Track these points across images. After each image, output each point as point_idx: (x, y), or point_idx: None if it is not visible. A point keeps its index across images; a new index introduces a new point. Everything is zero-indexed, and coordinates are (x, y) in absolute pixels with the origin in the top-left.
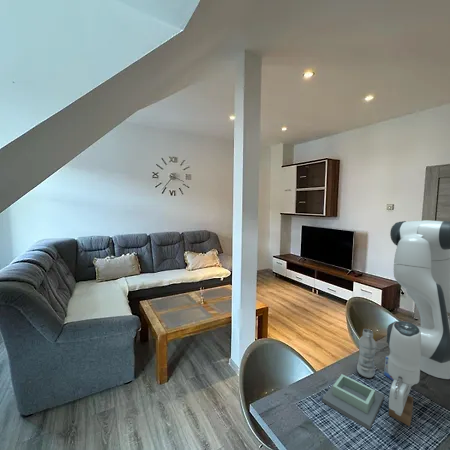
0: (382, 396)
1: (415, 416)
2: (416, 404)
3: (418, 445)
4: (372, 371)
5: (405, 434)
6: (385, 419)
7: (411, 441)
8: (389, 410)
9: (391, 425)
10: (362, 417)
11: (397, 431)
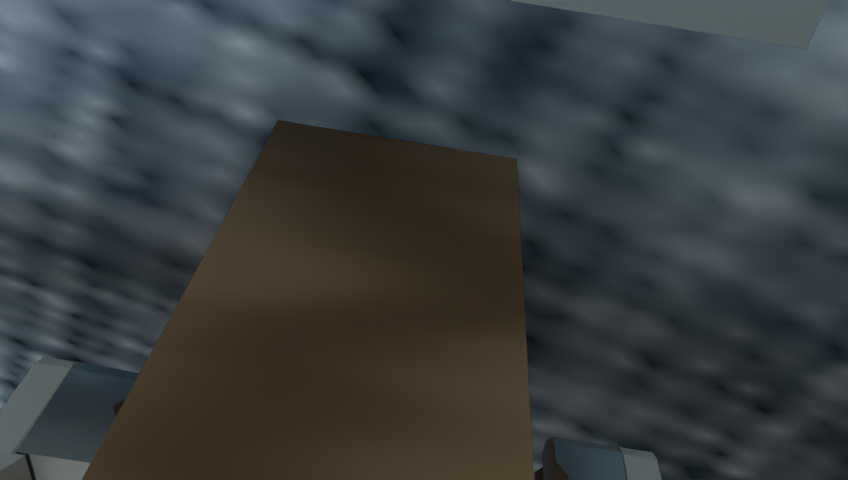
0: (716, 10)
1: (541, 438)
2: (841, 465)
3: None
4: None
5: (62, 328)
6: (111, 75)
7: (10, 376)
8: (244, 189)
9: (58, 170)
10: None
11: (15, 245)
